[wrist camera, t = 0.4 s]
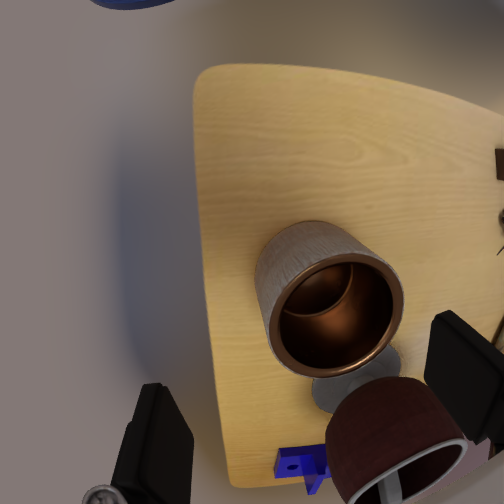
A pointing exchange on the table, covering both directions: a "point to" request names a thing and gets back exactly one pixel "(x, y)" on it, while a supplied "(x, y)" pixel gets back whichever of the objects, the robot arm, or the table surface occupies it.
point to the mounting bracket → (303, 465)
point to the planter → (326, 300)
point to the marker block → (500, 163)
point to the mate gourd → (386, 433)
